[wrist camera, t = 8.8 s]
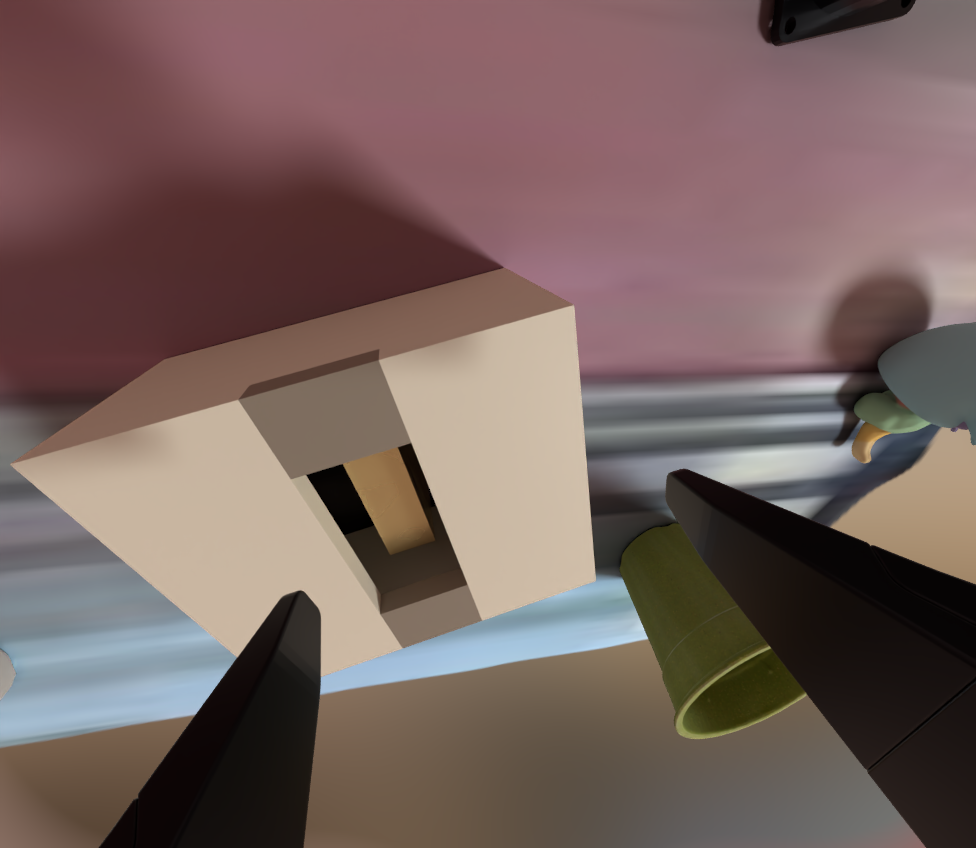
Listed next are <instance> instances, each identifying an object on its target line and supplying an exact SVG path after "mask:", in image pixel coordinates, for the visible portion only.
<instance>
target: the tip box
mask: <svg viewBox="0 0 976 848" xmlns="http://www.w3.org/2000/svg"><path fill="white" fill-rule="evenodd" d="M410 443H412V445H413V448H414V451H415V453H416V456H417V458H418V461H419V463H420V466H421V468H422V471H423V473H424V476H425V478H426V481H427V483H428V486H429V488H430V491H431V493H432V496H433V498H434V501H435V503H436V506H434V507H431V511H432V519H433V526H434V533H435V541H433V542H430V543H427V544H424V545H421V546H417V547H414V548H411V549H408V550H405V551H402V552H399V553H395V554H392V555H390V554H389V552H388V550H387V548H386V546H385V544H384V542H383V540H382V538H381V536H380V535H379V533H378V531H377V529H376V527H375V526H371V527H368V528H365V529H362V530H359V531H356V532H353V533H349V534H346V535H343V533H342V532H341V530H340V529H339V527H338V525H337V524H336V522H335V521H334V519H333V517H332V516H331V514H330V513H329V511H328V509H327V508H326V506H325V505H324V503H323V502H322V500H321V498H320V497H319V495H318V494H317V492H316V490H315V489H314V487H313V486H312V484H311V482H310V481H309V479H308V478H307V476H306V475H307V474H311V473H314V472H317V471H321V470H324V469H327V468H330V467H334V466H337V465H340V464H344V463H347V462H350V461H354V460H357V459H360V458H363V457H367V456H370V455H373V454H377V453H380V452H383V451H387V450H390V449H393V448H396V447H400V446H403V445H406V444H410ZM10 465H11V466H12V467H13V468H15V469H16V470H17V471H18V472H19V473H20V474H22V475H23V476H24V477H25V478H26V479H28V480H29V481H30V482H31V483H32V484H33V485H35V486H36V487H37V488H38V489H39V490H41V491H42V492H43V493H44V494H45V495H46V496H48V497H49V498H50V499H51V500H52V501H54V502H55V503H56V504H57V505H58V506H59V507H61V508H62V509H63V510H64V511H65V512H66V513H68V514H69V515H70V516H71V517H72V518H74V519H75V520H76V521H77V522H78V523H79V524H81V525H82V526H83V527H84V528H85V529H87V530H88V531H89V532H90V533H91V534H92V535H94V536H95V537H96V538H97V539H98V540H100V541H101V542H102V543H103V544H104V545H105V546H107V547H108V548H109V549H110V550H111V551H112V552H114V553H115V554H116V555H117V556H118V557H120V558H121V559H122V560H123V561H124V562H125V563H127V564H128V565H129V566H130V567H131V568H133V569H134V570H135V571H136V572H137V573H138V574H140V575H141V576H142V577H143V578H144V579H146V580H147V581H148V582H149V583H150V584H151V585H153V586H154V587H155V588H156V589H157V590H158V591H160V592H161V593H162V594H163V595H164V596H166V597H167V598H168V599H169V600H170V601H171V602H173V603H174V604H175V605H176V606H177V607H179V608H180V609H181V610H182V611H183V612H184V613H186V614H187V615H188V616H189V617H190V618H192V619H193V620H194V621H195V622H196V623H197V624H199V625H200V626H201V627H202V628H203V629H204V630H206V631H207V632H208V633H209V634H210V635H212V636H213V637H214V638H215V639H216V640H217V641H219V642H220V643H221V644H222V645H223V646H225V647H226V648H227V649H228V650H229V651H230V652H232V653H233V654H234V655H235V656H236V657H238V656H239V654H240V653H241V652H242V650H243V649H244V648H245V646H246V645H247V643H248V642H249V641H250V639H251V638H252V637H253V635H254V634H255V633H256V631H257V630H258V628H259V627H260V626H261V624H262V623H263V622H264V620H265V619H266V617H267V616H268V615H269V613H270V612H271V611H272V609H273V608H274V606H275V605H276V604H277V602H278V601H279V600H280V598H281V597H282V596H284V595H286V594H289V593H292V592H295V591H298V590H302V591H304V592H305V593H306V594H307V595H308V596H309V598H310V599H311V600H312V601H313V602H314V604H315V605H316V606H317V607H318V609H319V611H320V614H321V677H322V676H325V675H328V674H331V673H334V672H336V671H339V670H342V669H345V668H348V667H351V666H354V665H356V664H359V663H362V662H365V661H368V660H371V659H374V658H376V657H379V656H382V655H385V654H388V653H391V652H394V651H397V650H399V649H402V648H405V647H408V646H411V645H414V644H417V643H419V642H422V641H425V640H428V639H431V638H434V637H437V636H439V635H442V634H445V633H448V632H451V631H454V630H457V629H460V628H462V627H465V626H468V625H471V624H474V623H477V622H480V621H482V620H485V619H488V618H491V617H494V616H497V615H500V614H502V613H505V612H508V611H511V610H514V609H517V608H520V607H523V606H525V605H528V604H531V603H534V602H537V601H540V600H543V599H545V598H548V597H551V596H554V595H557V594H560V593H563V592H565V591H568V590H571V589H574V588H577V587H580V586H583V585H586V584H588V583H591V582H594V581H596V576H595V563H594V551H593V538H592V525H591V513H590V500H589V488H588V475H587V462H586V450H585V437H584V425H583V412H582V399H581V387H580V374H579V362H578V349H577V336H576V324H575V311H574V305H573V304H571V303H569V302H567V301H566V300H564V299H562V298H560V297H558V296H556V295H554V294H553V293H551V292H549V291H547V290H545V289H543V288H541V287H540V286H538V285H536V284H534V283H532V282H530V281H528V280H527V279H525V278H523V277H521V276H519V275H517V274H515V273H514V272H512V271H510V270H508V269H506V268H502V269H498V270H494V271H491V272H487V273H483V274H479V275H476V276H472V277H468V278H465V279H461V280H457V281H453V282H450V283H446V284H442V285H439V286H435V287H431V288H427V289H424V290H420V291H416V292H413V293H409V294H405V295H401V296H398V297H394V298H390V299H387V300H383V301H379V302H375V303H372V304H368V305H364V306H361V307H357V308H353V309H349V310H346V311H342V312H338V313H335V314H331V315H327V316H323V317H320V318H316V319H312V320H309V321H305V322H301V323H297V324H294V325H290V326H286V327H283V328H279V329H275V330H271V331H268V332H264V333H260V334H257V335H253V336H249V337H245V338H242V339H238V340H234V341H231V342H227V343H223V344H219V345H216V346H212V347H208V348H205V349H201V350H197V351H193V352H190V353H186V354H182V355H179V356H175V357H171V358H167V359H164V360H163V361H161V362H160V363H158V364H157V365H155V366H154V367H152V368H151V369H149V370H148V371H146V372H145V373H144V374H142V375H141V376H139V377H138V378H136V379H135V380H133V381H132V382H130V383H129V384H127V385H126V386H124V387H123V388H121V389H120V390H119V391H117V392H116V393H114V394H113V395H111V396H110V397H108V398H107V399H105V400H104V401H102V402H101V403H99V404H98V405H96V406H95V407H93V408H92V409H91V410H89V411H88V412H86V413H85V414H83V415H82V416H80V417H79V418H77V419H76V420H74V421H73V422H71V423H70V424H68V425H67V426H66V427H64V428H63V429H61V430H60V431H58V432H57V433H55V434H54V435H52V436H51V437H49V438H48V439H46V440H45V441H43V442H42V443H40V444H39V445H38V446H36V447H35V448H33V449H32V450H30V451H29V452H27V453H26V454H24V455H23V456H21V457H20V458H18V459H17V460H15V461H14V462H13V463H11V464H10Z"/></svg>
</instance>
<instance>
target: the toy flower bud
mask: <svg viewBox="0 0 976 848" xmlns="http://www.w3.org/2000/svg"><path fill="white" fill-rule="evenodd" d="M878 369H879V372H880V374H881V376H882V378H883V380H884V381H885V383H886V385H887V386H888V387H889V389H890V390H888V391H885V392H883V393H869V394H867V395H865V396H863V397H862V398H860V399H859V400H858V401H857V403H856V404H855V406H854V412H855V414H856V415H857V416H858V417H859V418H860V419H862V420H863V421H865V423H864V424H863V425H862V427H861V429H860V431H859V432H858V434H857V436H856V438H855V440H854V442H853V445H852V455H853V456H854V457H855V458H856V459H857V460H859V461H860V462H862V463H868V462H870V461H871V456H870V450H871V448H872V446H873V444H874V443H875V441H876V440H878V439H879V438H881V437H883V436H884V435H887V434H890V433H905V432H912V431H916V430H919V429H921V428H923V427H925V426H927V425H929V424H931V423H932V424H934V425H937V426H941V427H946V428H951V431H953V432H956V431H957V430H958V428H959V429H965V430H967V429H969V431H970V434H971V443H972V445H976V322H973V323H964V324H954V325H948V326H942V327H938V328H934V329H930V330H927V331H923V332H921V333H918V334H915V335H913V336H910V337H908V338H906V339H904V340H902V341H900V342H898V343H896V344H895V345H893V346H891V347H890V348H889V349H887V350H886V351H885V352H884V353H883V354H882V355H881V356H880V358H879V360H878Z"/></svg>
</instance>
